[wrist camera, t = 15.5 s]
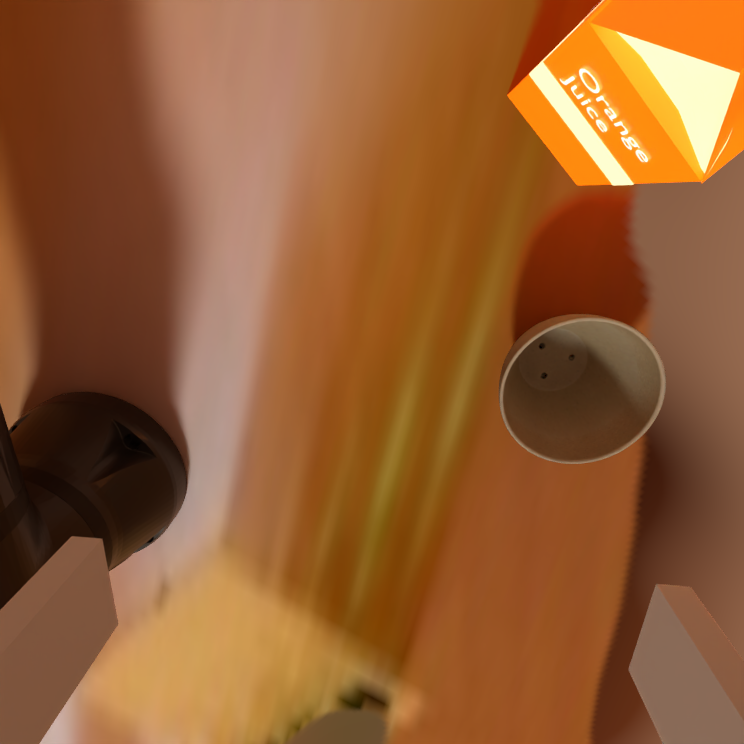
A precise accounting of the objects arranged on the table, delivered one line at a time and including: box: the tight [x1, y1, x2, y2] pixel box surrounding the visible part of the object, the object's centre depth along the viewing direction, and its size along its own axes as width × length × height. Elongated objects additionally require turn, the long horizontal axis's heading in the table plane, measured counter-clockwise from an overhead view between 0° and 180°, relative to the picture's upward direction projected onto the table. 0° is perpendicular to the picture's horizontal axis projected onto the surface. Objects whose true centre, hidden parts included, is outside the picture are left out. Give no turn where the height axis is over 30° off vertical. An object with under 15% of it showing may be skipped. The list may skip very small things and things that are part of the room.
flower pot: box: [499, 314, 666, 464], centre depth 34 cm, size 10×10×7 cm
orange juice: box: [507, 0, 744, 185], centre depth 21 cm, size 8×9×20 cm
